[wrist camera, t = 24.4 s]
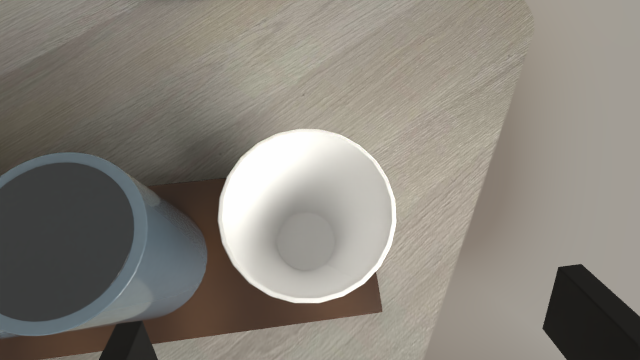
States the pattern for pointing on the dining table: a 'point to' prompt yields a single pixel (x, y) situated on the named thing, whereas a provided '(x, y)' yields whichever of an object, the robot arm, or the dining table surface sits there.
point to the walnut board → (204, 294)
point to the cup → (307, 215)
